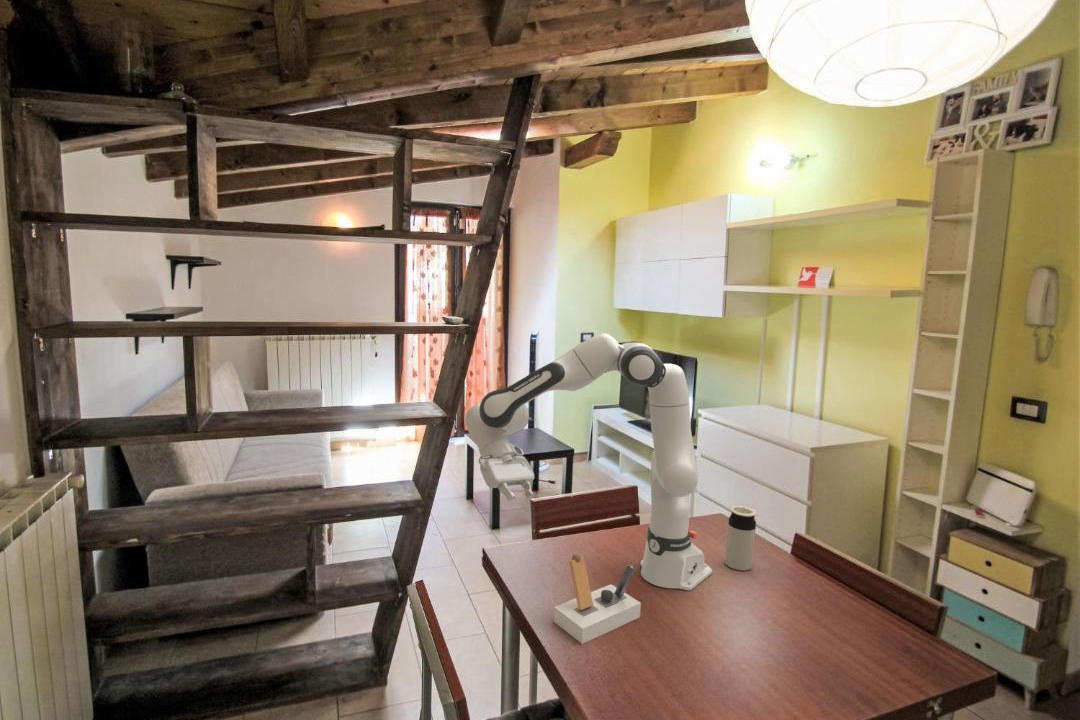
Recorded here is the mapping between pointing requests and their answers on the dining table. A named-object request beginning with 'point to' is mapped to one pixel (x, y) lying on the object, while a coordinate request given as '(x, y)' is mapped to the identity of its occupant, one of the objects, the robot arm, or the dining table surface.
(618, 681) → the dining table surface
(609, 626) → the console
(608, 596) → the push button
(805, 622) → the dining table surface
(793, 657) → the dining table surface
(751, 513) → the travel mug
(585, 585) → the paddle lever
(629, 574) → the toggle lever
